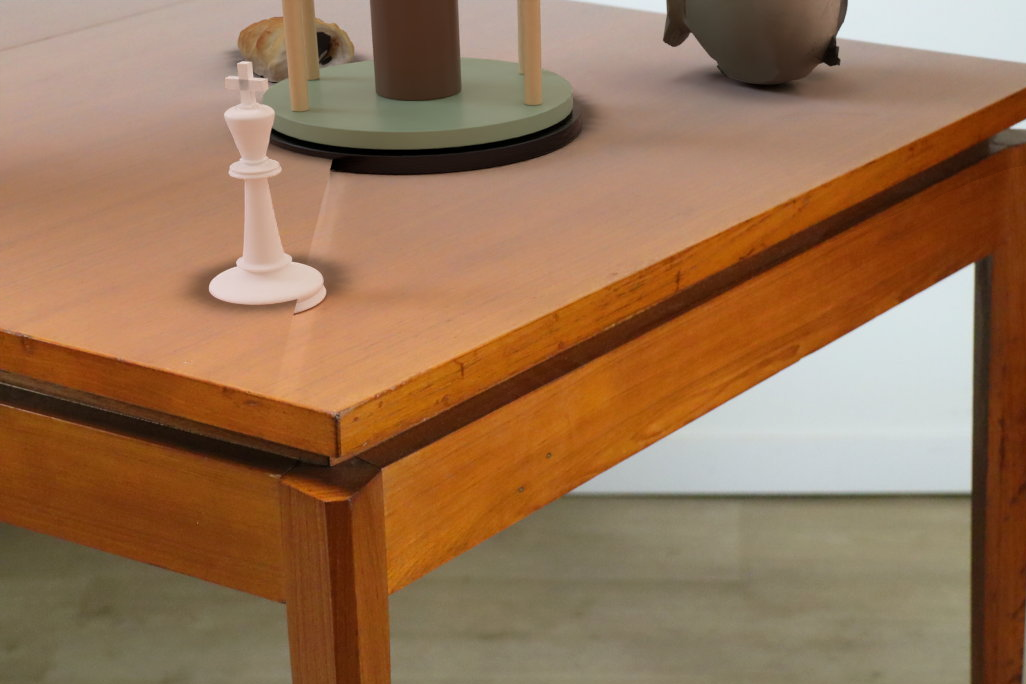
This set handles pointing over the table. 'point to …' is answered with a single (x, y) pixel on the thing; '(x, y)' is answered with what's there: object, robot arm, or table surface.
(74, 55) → the table surface
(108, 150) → the table surface
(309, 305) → the chess piece
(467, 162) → the rack base
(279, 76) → the pastry
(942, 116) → the table surface
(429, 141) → the rack
